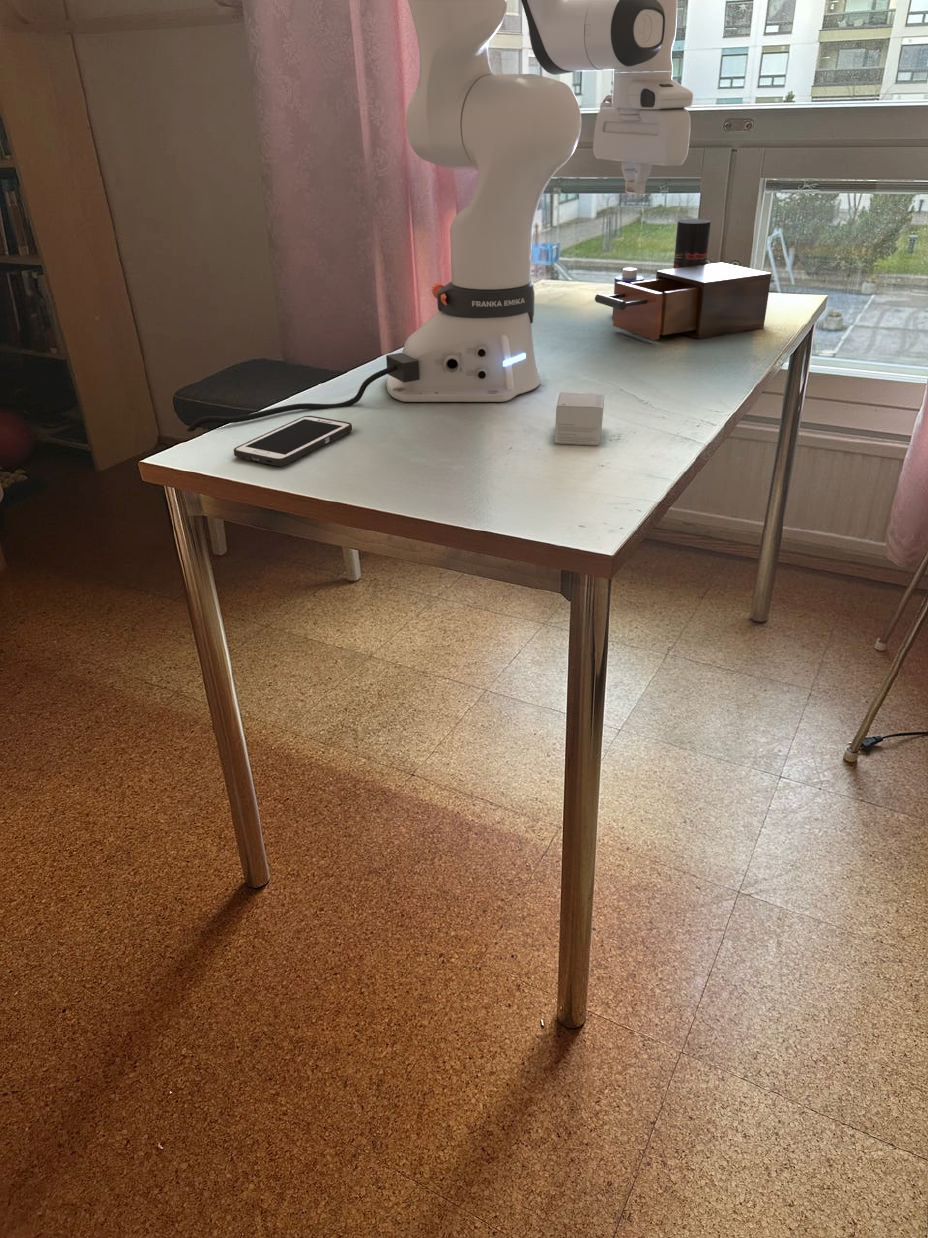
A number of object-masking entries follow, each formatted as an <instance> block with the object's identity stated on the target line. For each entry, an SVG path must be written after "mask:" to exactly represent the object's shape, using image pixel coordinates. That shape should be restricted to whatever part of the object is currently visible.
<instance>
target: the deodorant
mask: <svg viewBox="0 0 928 1238" xmlns="http://www.w3.org/2000/svg"><path fill="white" fill-rule="evenodd" d="M711 223H712V222H711V220H709V219H702V218H686V219H685V218H684V219H679V220H677V224H676V225H677V226H676V235H675V247H674V258H673V268H672V269H675V268H683V267H691V266H698V265H706V264H707V259H708V258H707V257H708V250H709V249H708V248H709V241H710V230H711Z"/></svg>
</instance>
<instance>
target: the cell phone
mask: <svg viewBox="0 0 928 1238" xmlns="http://www.w3.org/2000/svg"><path fill="white" fill-rule="evenodd" d="M352 430H353V425H352V423H351V422H348V421H343V420H338V419H331V418H326V417H322V416H316V415H304V416H301V417H299V418H296V419H294V420H293V421H290V422H288V423H286V424H284V425H281V426H279V427H276V428H274V429H273V430H270V431H268V432H266V433H264V434H262V435H259V436H257V437H254V438H253V439H251V440H248V441H246V442H244V443H241V444H240V445H238V446H236V447H234V448H233V456H235V457H236V458H239V459H243V460H249V461H254V462H258V463H262V464H267V465H271V466H278V467H282V466H285V465H287V464H290V463H291V462H293V461H295V460H297V459H299V458H301V457H303V456H305V455H308V454H309V453H311V452H313V451H315V450H317V449H320V447H323V446H325V445H327V444H329V443H330V442H332V441H334V440H336V439H339V438H340V437H342V436H344V435H346V434H349V433H350V432H351V431H352Z"/></svg>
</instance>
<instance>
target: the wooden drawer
mask: <svg viewBox="0 0 928 1238" xmlns="http://www.w3.org/2000/svg"><path fill="white" fill-rule="evenodd" d="M700 292H701V287H700V286H696V285H692V284H688V283H684V282H680V281H676V280H672V279H668V278H662V279H656V278H655V279H648V280H644V281H640V282H632V283H630V284H628V283H624V282H616V286H615V294H614V293H613V294H608V295H605V294H602V293H597V294H596V295H595V297H594V301H595V302H596V303H598V304H601V305H603V306H606V307H611V308H612V309H613V308H614V318H613V317H612V326H613V327H615V328H617V329H619V330H620V329H621V330H623V331H626V332H629V333H631V334H635V335H638V336H640V337H644V338H646V339H650V340H653V341H654V340H655V341H656V340H659V339H660V335H662V336H666V335H673V334H680V333H679V332H685V331H691V330H696V328H697V319H698V310H699V301H700Z"/></svg>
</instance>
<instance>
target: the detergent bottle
mask: <svg viewBox="0 0 928 1238" xmlns="http://www.w3.org/2000/svg"><path fill="white" fill-rule="evenodd" d="M640 281H645V277H644V276H642V275H638V268H635V267H624V268H622V273H621V275H617V276H615V277H614V285H613V295H614V294H615V286H616V282H624V283H628V284H630V283H632V282H640ZM613 318H614V308H613V307H612V319H613Z"/></svg>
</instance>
